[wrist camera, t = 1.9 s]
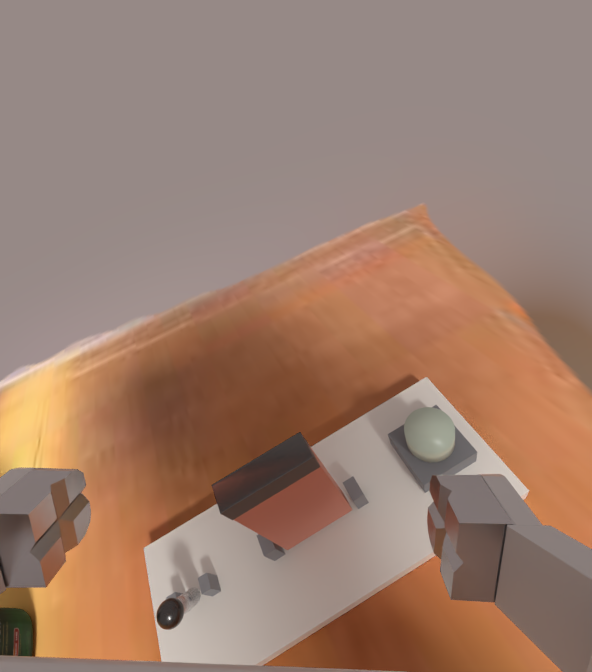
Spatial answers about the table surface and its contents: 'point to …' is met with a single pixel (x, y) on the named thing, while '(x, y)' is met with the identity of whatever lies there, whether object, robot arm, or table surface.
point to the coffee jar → (15, 632)
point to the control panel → (312, 543)
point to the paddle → (282, 494)
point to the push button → (430, 434)
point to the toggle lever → (176, 608)
